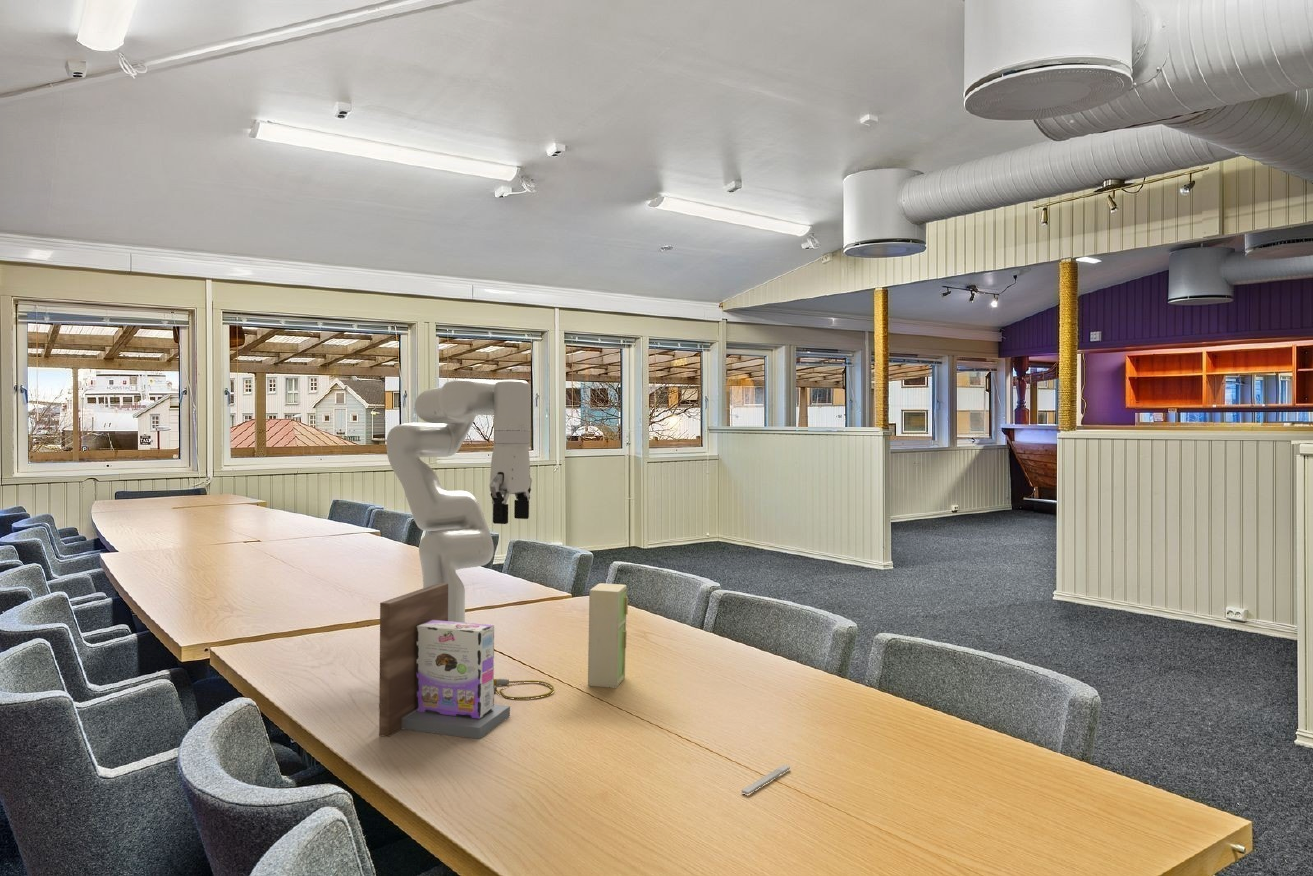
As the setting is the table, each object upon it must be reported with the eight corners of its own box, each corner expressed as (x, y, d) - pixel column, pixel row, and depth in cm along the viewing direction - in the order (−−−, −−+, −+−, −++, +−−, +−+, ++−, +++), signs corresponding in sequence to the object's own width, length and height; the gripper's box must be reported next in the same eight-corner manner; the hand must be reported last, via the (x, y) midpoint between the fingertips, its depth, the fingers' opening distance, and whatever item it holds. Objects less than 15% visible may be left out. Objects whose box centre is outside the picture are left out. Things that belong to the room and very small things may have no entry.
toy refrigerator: (620, 689, 173) (621, 591, 173) (587, 686, 175) (588, 589, 175) (628, 677, 181) (630, 584, 181) (597, 675, 183) (598, 582, 182)
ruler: (747, 799, 123) (747, 792, 123) (741, 796, 124) (741, 790, 124) (789, 772, 133) (789, 766, 133) (783, 770, 134) (783, 764, 134)
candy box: (495, 710, 154) (496, 624, 154) (479, 720, 148) (480, 631, 148) (432, 701, 158) (433, 618, 158) (414, 711, 152) (415, 624, 152)
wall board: (379, 735, 146) (380, 602, 145) (438, 700, 165) (439, 582, 165) (388, 736, 145) (389, 603, 145) (447, 701, 164) (448, 583, 164)
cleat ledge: (401, 728, 149) (401, 718, 149) (436, 707, 161) (436, 697, 161) (479, 739, 145) (479, 728, 145) (509, 716, 156) (509, 706, 156)
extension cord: (512, 678, 182) (513, 669, 182) (565, 692, 172) (565, 683, 172) (471, 692, 172) (471, 682, 172) (524, 707, 162) (525, 697, 162)
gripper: (514, 438, 178) (513, 516, 178) (475, 439, 161) (474, 524, 162) (545, 439, 176) (544, 517, 176) (509, 440, 159) (508, 526, 160)
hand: (511, 521), depth 169 cm, fingers open, 9 cm apart
